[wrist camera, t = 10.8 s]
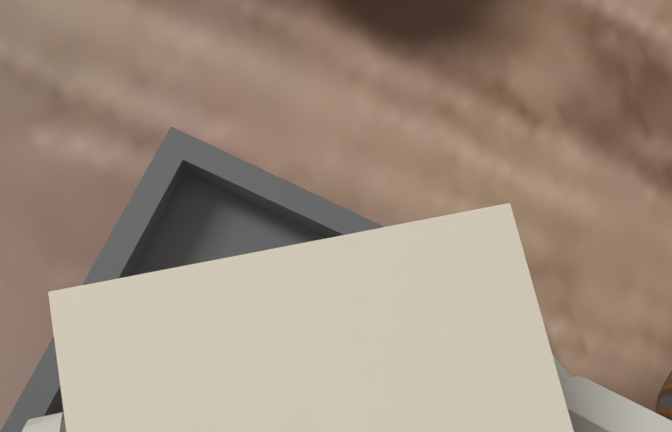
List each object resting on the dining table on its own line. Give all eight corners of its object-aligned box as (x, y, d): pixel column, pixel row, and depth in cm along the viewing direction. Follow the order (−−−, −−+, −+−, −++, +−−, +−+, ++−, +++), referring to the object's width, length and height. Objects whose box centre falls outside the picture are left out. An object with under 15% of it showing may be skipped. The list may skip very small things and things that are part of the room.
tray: (353, 642, 18) (372, 689, 16) (-10, 494, 17) (-49, 518, 15) (478, 292, 21) (509, 286, 19) (178, 152, 20) (171, 126, 18)
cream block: (388, 468, 14) (644, 679, 5) (200, 522, 13) (125, 890, 4) (347, 285, 15) (510, 202, 6) (167, 324, 14) (48, 292, 5)
